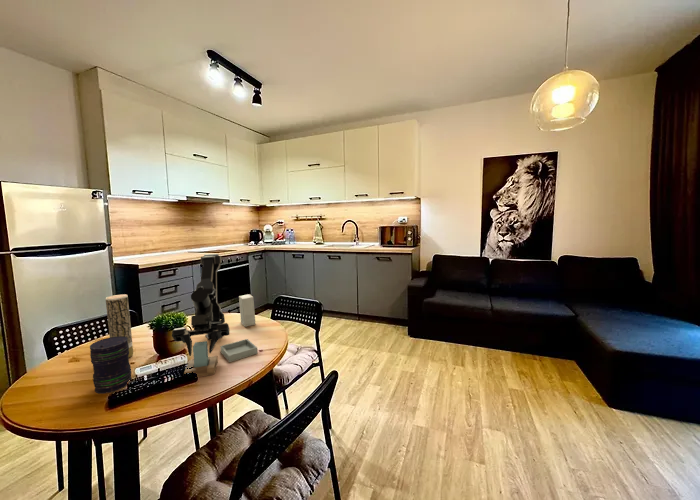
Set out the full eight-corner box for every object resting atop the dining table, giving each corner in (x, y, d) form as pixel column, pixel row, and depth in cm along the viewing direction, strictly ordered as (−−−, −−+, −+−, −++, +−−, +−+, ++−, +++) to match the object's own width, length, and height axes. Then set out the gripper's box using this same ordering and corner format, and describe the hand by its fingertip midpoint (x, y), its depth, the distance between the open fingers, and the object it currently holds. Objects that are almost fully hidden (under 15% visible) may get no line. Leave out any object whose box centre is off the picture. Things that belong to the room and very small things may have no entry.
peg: (197, 368, 107) (195, 342, 106) (208, 366, 108) (207, 340, 107) (194, 373, 103) (192, 347, 102) (207, 371, 105) (205, 345, 103)
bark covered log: (135, 356, 117) (129, 296, 114) (113, 363, 112) (106, 300, 109) (131, 351, 121) (125, 293, 119) (110, 357, 116) (104, 296, 114)
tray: (220, 352, 120) (220, 346, 120) (247, 344, 127) (247, 338, 127) (229, 362, 111) (228, 355, 111) (257, 353, 118) (257, 347, 118)
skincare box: (255, 324, 151) (254, 296, 149) (243, 327, 147) (242, 298, 146) (251, 320, 158) (250, 293, 156) (239, 322, 154) (238, 295, 153)
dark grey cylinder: (112, 376, 102) (107, 336, 100) (139, 376, 102) (135, 336, 100) (85, 393, 92) (80, 348, 91) (115, 394, 92) (110, 349, 90)
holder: (190, 365, 109) (190, 359, 109) (217, 361, 112) (217, 355, 111) (184, 379, 100) (183, 372, 100) (214, 374, 103) (213, 367, 102)
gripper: (171, 307, 104) (164, 350, 95) (226, 302, 110) (225, 342, 101) (178, 321, 113) (172, 361, 103) (230, 316, 118) (229, 353, 109)
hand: (200, 354), depth 104 cm, fingers open, 6 cm apart
